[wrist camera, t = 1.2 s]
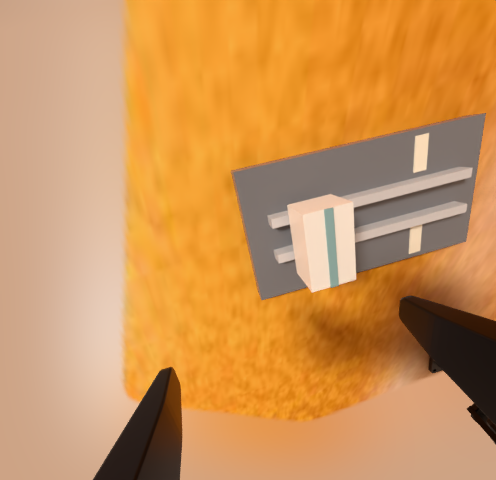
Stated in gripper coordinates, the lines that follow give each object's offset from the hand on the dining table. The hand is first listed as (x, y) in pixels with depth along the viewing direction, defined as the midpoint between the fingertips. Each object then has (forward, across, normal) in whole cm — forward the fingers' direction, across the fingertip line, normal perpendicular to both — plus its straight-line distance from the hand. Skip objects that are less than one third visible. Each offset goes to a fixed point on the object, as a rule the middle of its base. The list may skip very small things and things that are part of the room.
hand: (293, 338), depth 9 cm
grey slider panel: (+14, -12, +1) cm, 18 cm away
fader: (+12, -5, +1) cm, 13 cm away
